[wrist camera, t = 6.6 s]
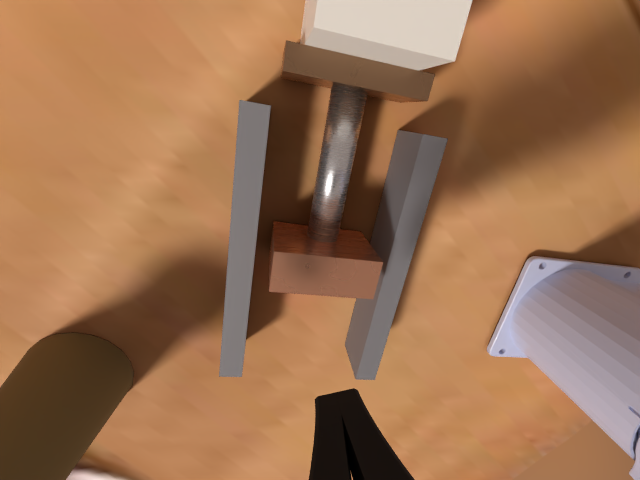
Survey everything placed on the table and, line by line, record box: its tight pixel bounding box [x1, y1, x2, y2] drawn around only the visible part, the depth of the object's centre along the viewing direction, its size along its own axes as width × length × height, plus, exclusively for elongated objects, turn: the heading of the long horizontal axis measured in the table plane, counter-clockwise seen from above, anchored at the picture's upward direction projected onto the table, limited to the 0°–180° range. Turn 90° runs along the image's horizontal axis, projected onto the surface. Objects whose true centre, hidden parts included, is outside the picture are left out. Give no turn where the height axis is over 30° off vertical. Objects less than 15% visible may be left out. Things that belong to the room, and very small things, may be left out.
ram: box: [269, 41, 435, 299], centre depth 15 cm, size 6×10×4 cm, turn 170°
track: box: [219, 100, 448, 380], centre depth 17 cm, size 9×14×3 cm, turn 170°
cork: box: [0, 333, 134, 480], centre depth 14 cm, size 6×6×11 cm
